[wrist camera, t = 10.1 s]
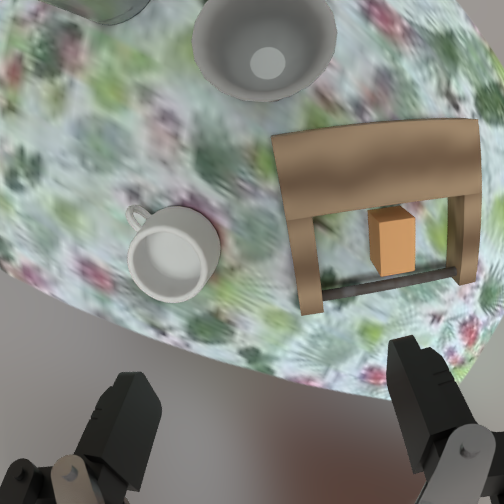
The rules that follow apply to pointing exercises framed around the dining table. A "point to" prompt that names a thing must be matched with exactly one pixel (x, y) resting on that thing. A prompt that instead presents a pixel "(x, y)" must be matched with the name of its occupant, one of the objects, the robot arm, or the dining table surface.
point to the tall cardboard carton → (392, 240)
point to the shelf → (380, 190)
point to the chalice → (263, 46)
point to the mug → (172, 252)
